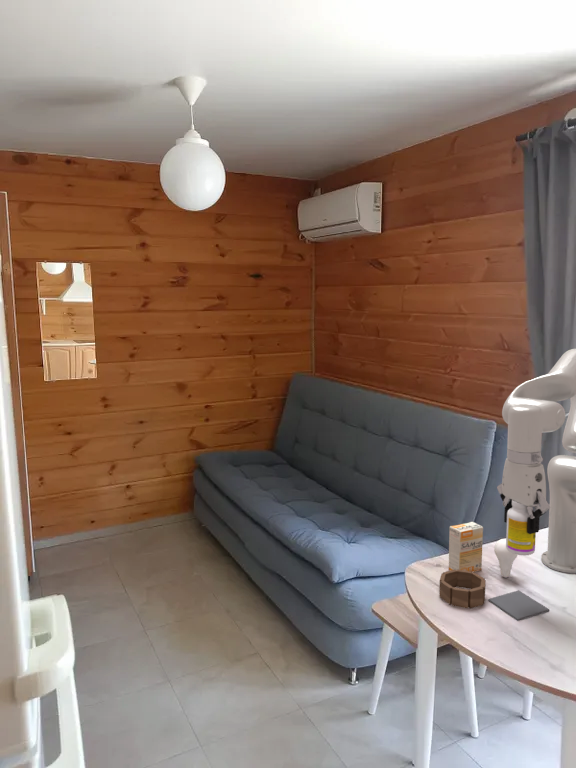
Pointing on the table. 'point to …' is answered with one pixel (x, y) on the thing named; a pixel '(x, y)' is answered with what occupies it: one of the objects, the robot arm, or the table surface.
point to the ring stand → (462, 596)
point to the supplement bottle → (519, 531)
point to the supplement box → (465, 547)
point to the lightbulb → (504, 558)
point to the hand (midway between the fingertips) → (521, 526)
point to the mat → (518, 605)
